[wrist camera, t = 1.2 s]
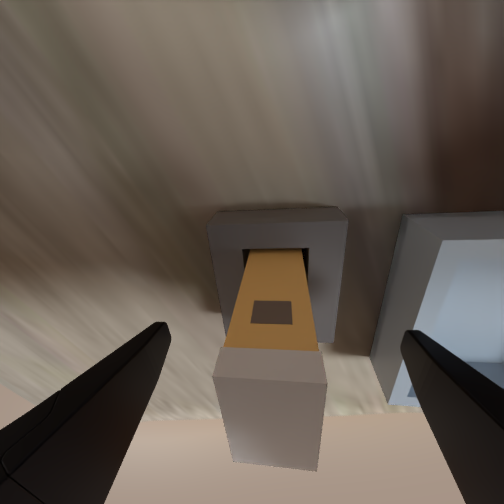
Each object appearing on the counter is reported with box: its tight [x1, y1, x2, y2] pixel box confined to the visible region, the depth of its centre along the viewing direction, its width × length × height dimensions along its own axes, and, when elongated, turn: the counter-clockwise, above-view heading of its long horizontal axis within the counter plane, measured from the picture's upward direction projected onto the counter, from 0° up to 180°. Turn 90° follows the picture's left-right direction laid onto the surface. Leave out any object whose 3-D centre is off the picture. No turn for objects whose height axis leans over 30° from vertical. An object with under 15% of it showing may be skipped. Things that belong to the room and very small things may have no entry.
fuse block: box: [206, 207, 349, 343], centre depth 12 cm, size 6×7×2 cm
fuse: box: [212, 248, 327, 471], centre depth 9 cm, size 2×4×8 cm, turn 4°
